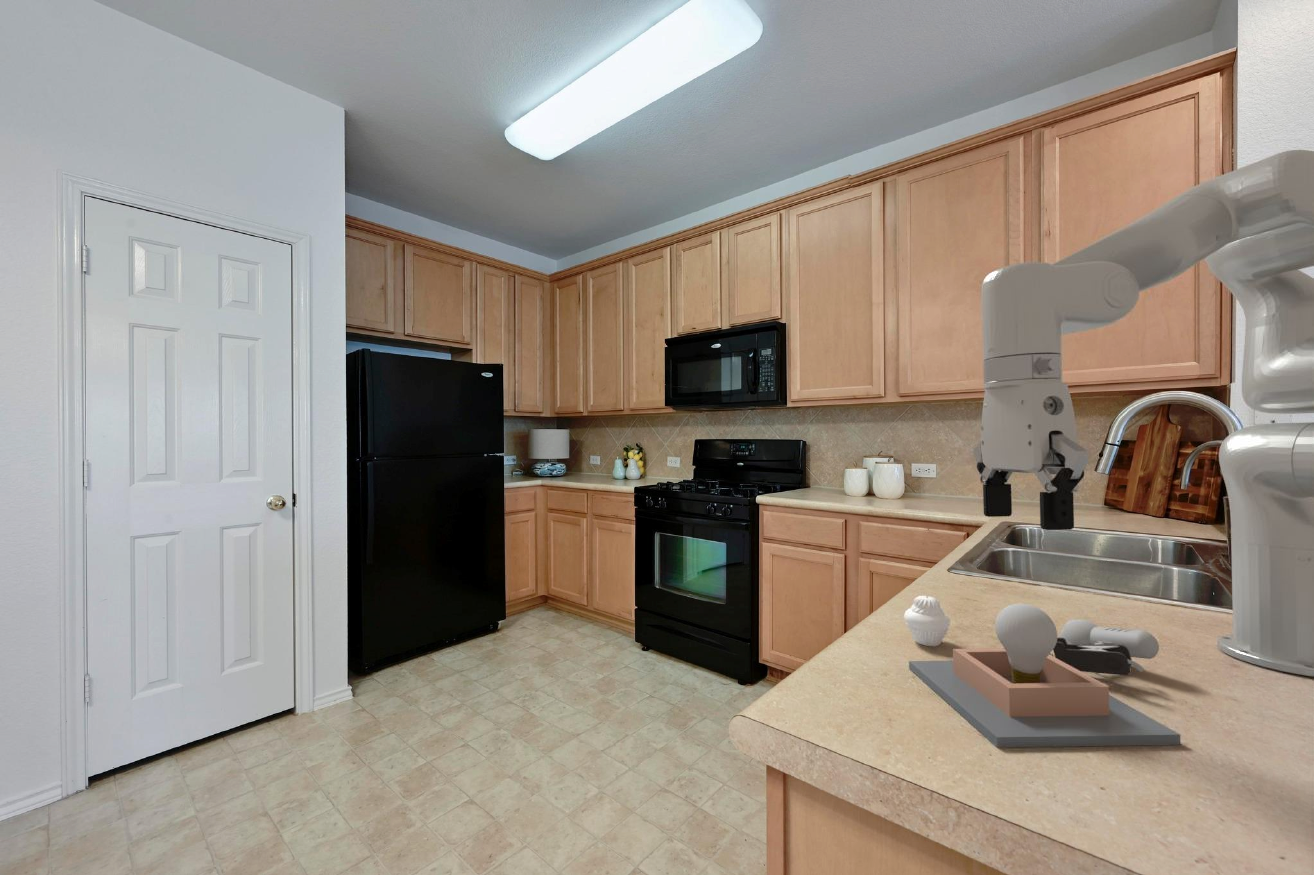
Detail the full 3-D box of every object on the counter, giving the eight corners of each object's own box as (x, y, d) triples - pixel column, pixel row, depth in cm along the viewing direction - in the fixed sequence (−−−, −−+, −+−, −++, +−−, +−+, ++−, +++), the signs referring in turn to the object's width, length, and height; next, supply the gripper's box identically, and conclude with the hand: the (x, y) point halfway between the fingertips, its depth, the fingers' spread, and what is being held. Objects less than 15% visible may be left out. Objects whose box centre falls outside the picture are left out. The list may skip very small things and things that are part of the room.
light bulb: (1060, 709, 57) (1060, 615, 57) (995, 695, 60) (995, 606, 60) (1054, 688, 62) (1054, 602, 62) (994, 676, 65) (994, 594, 65)
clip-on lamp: (981, 667, 77) (1130, 691, 61) (968, 622, 78) (1112, 634, 62) (1027, 645, 82) (1175, 660, 67) (1014, 603, 83) (1158, 609, 68)
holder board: (1045, 666, 70) (1044, 636, 70) (1180, 744, 52) (1179, 703, 52) (909, 668, 70) (908, 638, 70) (997, 747, 52) (996, 706, 52)
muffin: (960, 646, 77) (959, 598, 77) (930, 653, 75) (929, 603, 75) (924, 632, 83) (923, 587, 83) (895, 638, 81) (894, 592, 81)
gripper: (1119, 363, 53) (1123, 534, 53) (1004, 382, 70) (1007, 511, 70) (1044, 364, 53) (1048, 536, 53) (947, 383, 70) (951, 512, 70)
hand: (1025, 522), depth 61 cm, fingers open, 9 cm apart
